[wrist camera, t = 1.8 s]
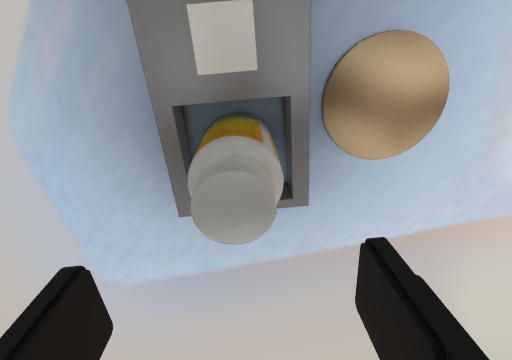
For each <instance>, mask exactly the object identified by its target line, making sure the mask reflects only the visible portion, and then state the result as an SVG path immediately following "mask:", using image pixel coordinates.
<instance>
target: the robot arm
mask: <svg viewBox="0 0 512 360" xmlns="http://www.w3.org/2000/svg"><path fill="white" fill-rule="evenodd" d="M355 303H356V308H357V311H358V313H359V315H360V317H361V320H362V322H363V324H364V326H365V328H366V330H367V332H368V335H369V337H370V339H371V341H372V343H373V346H374V348H375V350H376V352H377V354H378V357H379V359H380V360H489V359H488V357H487V356H486V355H485V354H484V353H483V351H482V350H481V349H480V348H479V347H478V345H477V344H476V343H475V342H474V340H473V339H472V338H471V337H470V335H469V334H468V333H467V332H466V331H465V329H464V328H463V327H462V326H461V325H460V323H459V322H458V321H457V320H456V318H455V317H454V316H453V315H452V314H451V313H450V311H449V310H448V309H447V308H446V307H445V305H444V304H443V303H442V301H441V300H440V299H439V298H438V297H437V295H436V294H435V293H434V292H433V291H432V289H431V288H430V287H429V286H428V285H427V283H426V282H425V281H424V280H423V279H422V278H421V277H420V276H418V275H415V274H414V272H413V271H412V270H411V269H410V268H409V266H408V265H407V264H406V263H405V261H404V260H403V259H402V258H401V256H400V255H399V254H398V253H397V251H396V250H395V249H394V248H393V246H392V245H391V244H390V243H389V241H388V240H387V239H386V238H384V237H379V238H368V239H366V241H365V243H362V244H361V246H360V256H359V266H358V276H357V286H356V296H355ZM112 330H113V324H112V321H111V319H110V316H109V314H108V311H107V309H106V307H105V305H104V303H103V300H102V298H101V295H100V293H99V291H98V289H97V286H96V284H95V282H94V279H93V277H92V275H91V273H90V271H89V270H86V269H85V267H83V266H74V267H64V268H62V269H60V270H59V271H58V272H57V273H56V275H55V276H54V277H53V278H52V279H51V280H50V282H49V283H48V284H47V285H46V286H45V287H44V288H43V290H42V291H41V292H40V293H39V294H38V295H37V296H36V298H35V299H34V300H33V301H32V302H31V303H30V305H29V306H28V307H27V308H26V309H25V310H24V312H23V313H22V314H21V315H20V316H19V317H18V319H16V321H15V322H14V323H13V324H12V325H11V327H10V328H9V329H8V330H7V331H6V332H5V333H4V334H3V336H2V337H1V338H0V360H100V357H101V355H102V353H103V351H104V349H105V347H106V345H107V342H108V341H109V339H110V336H111V334H112Z"/></svg>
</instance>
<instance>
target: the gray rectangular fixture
mask: <svg viewBox="0 0 512 360" xmlns="http://www.w3.org/2000/svg"><path fill="white" fill-rule="evenodd" d="M127 4H128V8H129V12H130V17H131V21H132V25H133V29H134V33H135V37H136V41H137V45H138V49H139V53H140V58H141V62H142V66H143V70H144V74H145V78H146V82H147V86H148V90H149V95H150V99H151V103H152V107H153V111H154V115H155V119H156V123H157V127H158V131H159V136H160V140H161V144H162V148H163V152H164V156H165V160H166V164H167V168H168V173H169V177H170V181H171V185H172V189H173V193H174V197H175V201H176V205H177V209H178V214H179V217H186V216H192V214H191V200H192V198H191V196H190V193H189V189H188V172H189V168H190V165H191V162H192V158H191V153H190V148H189V143H188V138H187V133H186V128H185V123H184V118H183V113H182V108H181V105H192V104H204V103H215V102H226V101H238V100H249V99H260V98H272V97H283V96H285V103H286V137H287V171H288V184H285V185H283V190H282V194H281V197H280V199H279V201H278V203H277V204H276V208H286V207H297V206H308V202H309V87H310V0H127Z"/></svg>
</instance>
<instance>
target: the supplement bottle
mask: <svg viewBox="0 0 512 360" xmlns="http://www.w3.org/2000/svg"><path fill="white" fill-rule="evenodd" d="M283 183H284V177H283V171H282V167H281V164H280V161H279V157H278V154H277V151H276V148H275V144H274V141H273V138H272V136H271V133H270V131H269V130H268V128H267V127H266V125H265V124H264V123H263V122H262V121H260V120H259V119H258V118H256V117H254V116H252V115H249V114H244V113H231V114H227V115H224V116H222V117H220V118H218V119H217V120H215V121H214V122H213V123H212V124H211V125H210V127H209V128H208V130H207V131H206V134H205V135H204V137H203V139H202V142H201V144H200V146H199V148H198V150H197V152H196V154H195V156H194V158H193V160H192V162H191V165H190V168H189V172H188V189H189V193H190V196H191V198H192V200H191V214H192V218H193V221H194V223H195V224H196V226H197V227H198V229H199V230H200V231H201V232H202V233H203V234H204V235H206V236H207V237H209V238H211V239H212V240H215V241H217V242H220V243H225V244H243V243H247V242H250V241H253V240H255V239H257V238H258V237H260V236H261V235H263V234H264V233H265V232H266V231H267V230H268V229H269V228H270V226H271V225H272V223H273V221H274V218H275V215H276V204H277V203H278V201H279V199H280V197H281V194H282V190H283Z"/></svg>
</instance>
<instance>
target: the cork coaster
mask: <svg viewBox="0 0 512 360" xmlns="http://www.w3.org/2000/svg"><path fill="white" fill-rule="evenodd" d="M448 92H449V70H448V66H447V63H446V60H445V58H444V55H443V54H442V52H441V51H440V49H439V48H438V47H437V46H436V45H435V44H434V43H433V42H432V41H431V40H430V39H428V38H427V37H425V36H423V35H421V34H418V33H415V32H410V31H389V32H383V33H379V34H376V35H373V36H371V37H369V38H366V39H364V40H363V41H361V42H359V43H358V44H356V45H355V46H354V47H352V48H351V49H350V50H349V51H348V52H347V53H346V54H345V55H344V56H343V57H342V58H341V59H340V60H339V62H338V63H337V64H336V66H335V67H334V69H333V70H332V72H331V74H330V76H329V78H328V80H327V83H326V86H325V89H324V93H323V99H322V115H323V121H324V124H325V127H326V130H327V132H328V134H329V135H330V137H331V138H332V140H333V141H334V142H335V143H336V144H337V145H338V146H339V147H340V148H341V149H342V150H344V151H345V152H347V153H348V154H350V155H352V156H355V157H358V158H362V159H369V160H377V159H385V158H389V157H393V156H395V155H398V154H401V153H403V152H404V151H406V150H408V149H410V148H411V147H413V146H414V145H416V144H417V143H418V142H419V141H421V140H422V139H423V138H424V137H425V136H426V135H427V134H428V133H429V132H430V130H431V129H432V128H433V127H434V125H435V124H436V122H437V121H438V119H439V117H440V115H441V113H442V111H443V109H444V107H445V104H446V100H447V97H448Z"/></svg>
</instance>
